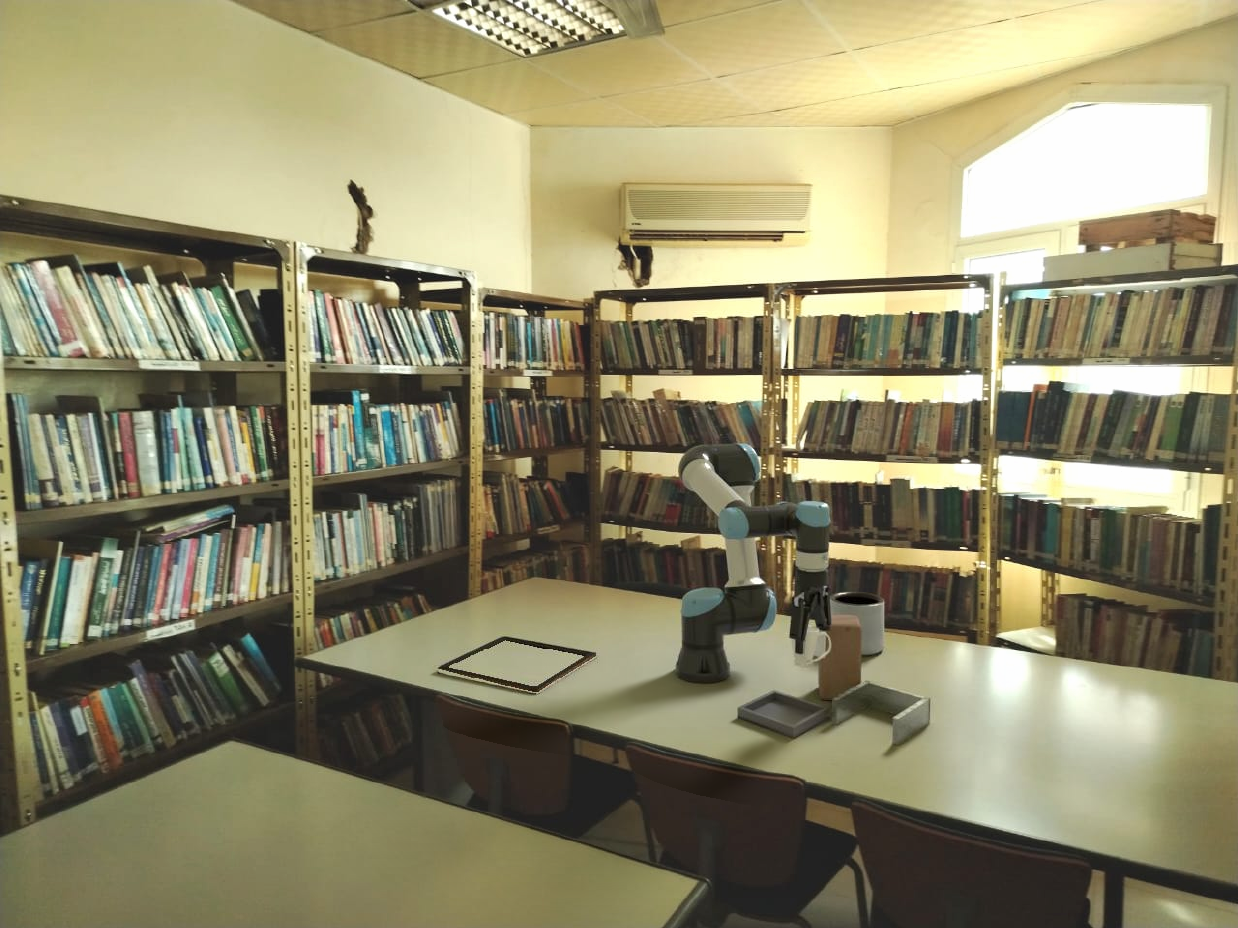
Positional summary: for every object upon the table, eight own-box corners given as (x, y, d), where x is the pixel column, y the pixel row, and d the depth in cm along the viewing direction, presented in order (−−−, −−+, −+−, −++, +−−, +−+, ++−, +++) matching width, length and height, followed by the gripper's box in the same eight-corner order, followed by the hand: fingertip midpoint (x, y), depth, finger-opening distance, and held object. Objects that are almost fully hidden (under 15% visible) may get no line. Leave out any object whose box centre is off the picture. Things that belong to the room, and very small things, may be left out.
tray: (737, 717, 188) (737, 707, 188) (773, 699, 198) (774, 689, 198) (793, 738, 176) (793, 727, 176) (829, 718, 187) (829, 707, 186)
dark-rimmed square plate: (428, 679, 217) (427, 669, 217) (493, 641, 250) (493, 633, 250) (549, 699, 203) (549, 688, 203) (602, 656, 236) (602, 647, 235)
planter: (895, 649, 234) (896, 599, 232) (860, 661, 225) (861, 608, 223) (852, 636, 247) (852, 588, 245) (817, 646, 238) (818, 596, 236)
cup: (785, 656, 188) (786, 624, 188) (825, 656, 189) (826, 624, 188) (793, 666, 181) (794, 632, 181) (835, 666, 182) (836, 632, 181)
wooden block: (861, 703, 195) (862, 626, 193) (820, 700, 197) (820, 624, 195) (857, 688, 205) (858, 614, 203) (818, 685, 207) (818, 612, 205)
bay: (831, 722, 184) (832, 698, 184) (866, 703, 195) (866, 680, 194) (897, 745, 172) (897, 719, 172) (929, 722, 183) (930, 698, 183)
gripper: (802, 579, 172) (800, 677, 175) (848, 562, 187) (846, 653, 190) (773, 573, 177) (772, 669, 180) (820, 557, 192) (818, 646, 195)
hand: (810, 660), depth 185 cm, fingers closed on cup, 8 cm apart
